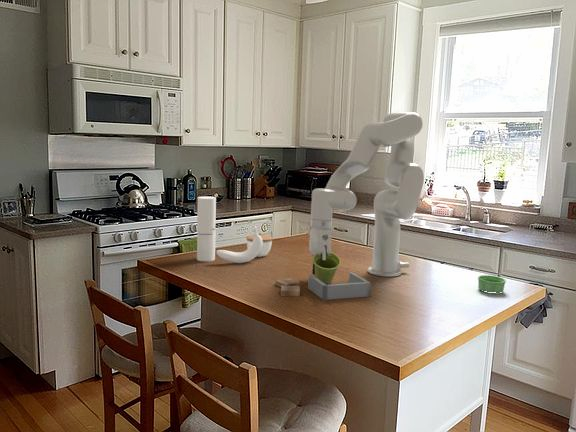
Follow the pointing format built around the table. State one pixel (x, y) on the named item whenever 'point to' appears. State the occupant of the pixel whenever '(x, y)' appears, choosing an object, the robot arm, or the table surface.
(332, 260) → the plant pot
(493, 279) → the ramekin
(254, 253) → the white curved piece
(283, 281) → the tile
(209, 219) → the cylindrical container
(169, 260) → the table surface
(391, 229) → the robot arm
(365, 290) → the u-shaped fence
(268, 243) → the lidded jar
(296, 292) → the tile
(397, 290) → the table surface
